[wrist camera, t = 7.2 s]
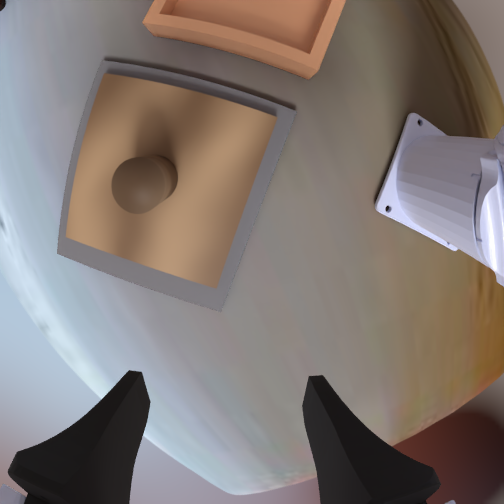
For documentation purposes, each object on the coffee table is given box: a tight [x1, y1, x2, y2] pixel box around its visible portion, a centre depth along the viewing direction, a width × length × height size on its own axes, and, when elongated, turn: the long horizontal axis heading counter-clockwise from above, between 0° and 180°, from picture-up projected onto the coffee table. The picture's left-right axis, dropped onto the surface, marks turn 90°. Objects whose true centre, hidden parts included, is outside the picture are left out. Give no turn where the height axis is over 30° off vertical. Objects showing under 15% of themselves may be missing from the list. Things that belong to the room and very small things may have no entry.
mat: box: [57, 60, 297, 312], centre depth 18 cm, size 14×15×1 cm
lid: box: [66, 73, 278, 289], centre depth 16 cm, size 12×12×4 cm
